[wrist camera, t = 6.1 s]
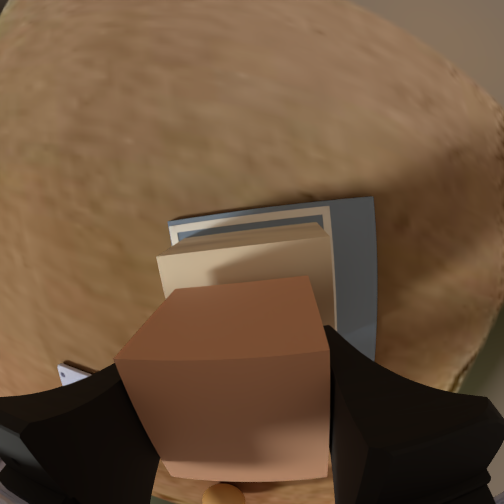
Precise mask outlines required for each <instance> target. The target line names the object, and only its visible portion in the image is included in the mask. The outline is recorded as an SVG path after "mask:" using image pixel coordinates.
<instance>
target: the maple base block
mask: <svg viewBox="0 0 504 504" xmlns="http://www.w3.org/2000/svg"><path fill="white" fill-rule="evenodd" d="M156 258H157V263H158V267H159V272H160V276H161V281H162V285H163V290H164V294H165V298H166V299H167V297H168V296H169V295H170V294H171V293H172V292H173V291H174V290H175V289H178V288H190V287H201V286H211V285H222V284H232V283H242V282H252V281H261V280H270V279H279V278H288V277H297V276H306V275H308V276H309V280H310V283H311V286H312V289H313V293H314V296H315V300H316V303H317V306H318V310H319V313H320V317H321V320H322V324H323V326H325V325H330V326H331V327H333V328H334V329H335V316H334V291H333V273H332V258H331V245H330V236H329V235H328V234H327V233H326V232H325V230H324V229H323V228H322V227H321V226H320V225H319V224H318V223H317V222H311V223H302V224H294V225H285V226H276V227H268V228H260V229H251V230H243V231H235V232H227V233H220V234H212V235H204V236H197V237H189V238H184V239H182V240H181V241H179V242H178V243H176V244H175V245H173V246H172V247H170V248H169V249H167V250H166V251H164V252H163V253H161V254H160V255H158V256H156Z"/></svg>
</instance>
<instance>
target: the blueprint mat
mask: <svg viewBox="0 0 504 504" xmlns="http://www.w3.org/2000/svg"><path fill="white" fill-rule="evenodd" d="M311 222H317V223H318V224H319V225H320V226H321V227H322V228H323V229H324V230H325V232H326V233H327V234H328V235H329V236H330V245H331V258H332V273H333V291H334V316H335V330H336V331H337V332H338V333H339V334H340V335H341V336H342V337H343V338H344V339H345V340H347V341H348V342H349V343H350V344H351V345H352V346H354V347H355V348H356V349H357V350H359V351H360V352H361V353H362V354H364V355H365V356H367V357H368V358H370V359H371V360H373V361H374V360H375V346H376V327H377V243H376V224H375V209H374V197H372V196H369V197H358V198H347V199H336V200H326V201H317V202H307V203H298V204H289V205H281V206H272V207H264V208H256V209H249V210H241V211H234V212H226V213H219V214H212V215H205V216H198V217H192V218H185V219H179V220H172V221H168V227H169V233H170V238H171V244H172V246H173V245H175V244H176V243H178V242H179V241H181V240H182V239H184V238H189V237H197V236H204V235H212V234H220V233H227V232H235V231H243V230H251V229H260V228H268V227H276V226H285V225H294V224H302V223H311Z"/></svg>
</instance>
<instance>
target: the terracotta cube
mask: <svg viewBox="0 0 504 504" xmlns="http://www.w3.org/2000/svg"><path fill="white" fill-rule="evenodd" d="M113 359H114V362H115V364H116V367H117V369H118V372H119V374H120V377H121V379H122V381H123V384H124V386H125V388H126V391H127V393H128V395H129V397H130V400H131V402H132V404H133V406H134V408H135V410H136V412H137V415H138V417H139V419H140V421H141V423H142V425H143V427H144V429H145V431H146V432H147V434H148V436H149V438H150V440H151V442H152V444H153V446H154V447H155V449H156V451H157V453H158V454H159V456H160V458H161V460H162V461H163V463H164V465H165V467H166V468H167V470H168V471H169V473H170V475H171V476H173V477H180V478H189V479H199V480H211V481H230V482H273V481H292V480H304V479H314V478H323V477H327V470H328V453H329V429H330V349H329V345H328V341H327V338H326V334H325V331H324V327H323V324H322V320H321V317H320V313H319V310H318V306H317V303H316V300H315V296H314V293H313V289H312V286H311V283H310V280H309V276H308V275H306V276H297V277H288V278H279V279H270V280H261V281H252V282H242V283H232V284H222V285H211V286H201V287H190V288H178V289H175V290H174V291H173V292H172V293H171V294H170V295H169V296H168V297H167V299H166V300H165V301H164V302H163V303H162V304H161V305H160V306H159V307H158V309H157V310H156V311H155V312H154V313H153V314H152V315H151V316H150V317H149V319H148V320H147V321H146V322H145V323H144V324H143V325H142V326H141V328H140V329H139V330H138V331H137V332H136V333H135V334H134V336H133V337H132V338H131V339H130V340H129V341H128V342H127V344H126V345H125V346H124V347H123V348H122V349H121V350H120V352H119V353H118V354H117V355H116V356H115V357H114V358H113Z"/></svg>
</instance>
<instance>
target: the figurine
mask: <svg viewBox="0 0 504 504" xmlns="http://www.w3.org/2000/svg"><path fill="white" fill-rule="evenodd" d="M202 503H203V504H245V497H244V495H243V493H242V492H241V491H240V490H239V489H238V488H237V487H235V486H233V485H230V484H226V483H220V484H215V485H213V486H211V487H209V488H208V489H207V490H206V491H205V493H204V494H203V498H202Z"/></svg>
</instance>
